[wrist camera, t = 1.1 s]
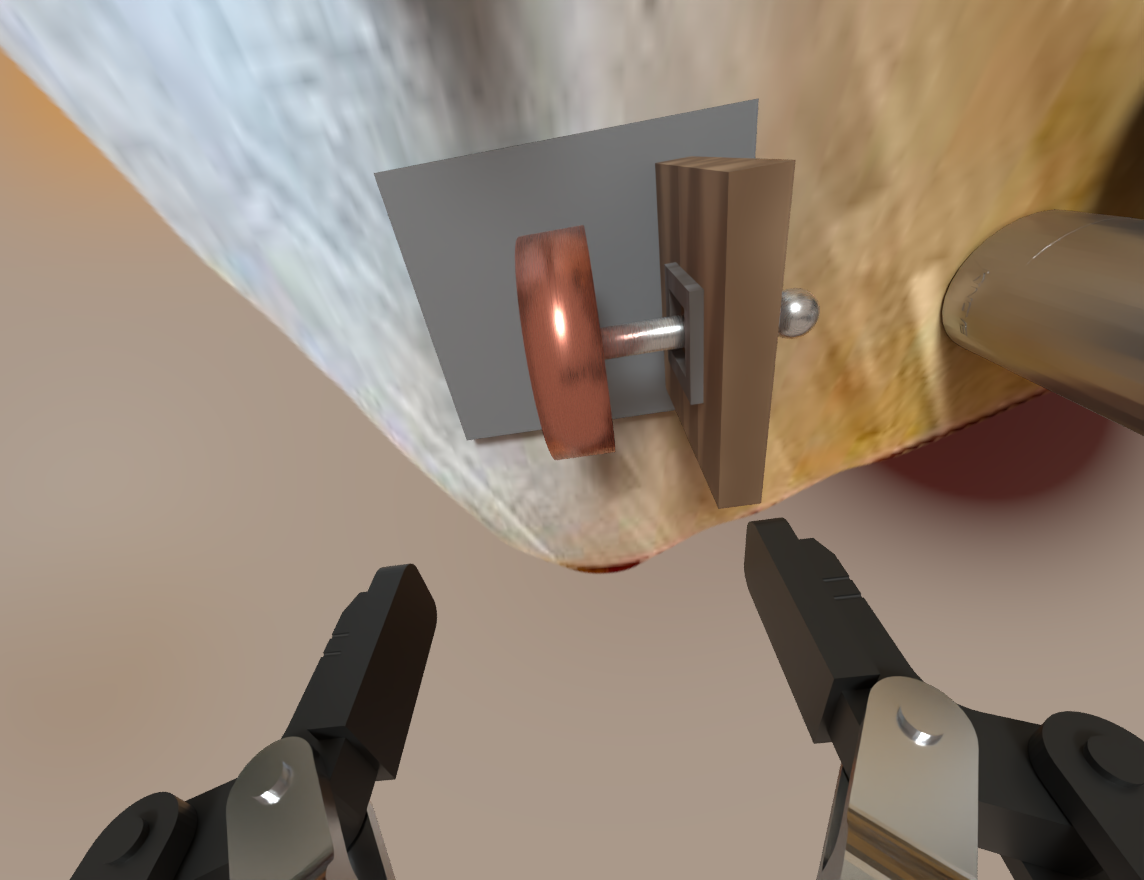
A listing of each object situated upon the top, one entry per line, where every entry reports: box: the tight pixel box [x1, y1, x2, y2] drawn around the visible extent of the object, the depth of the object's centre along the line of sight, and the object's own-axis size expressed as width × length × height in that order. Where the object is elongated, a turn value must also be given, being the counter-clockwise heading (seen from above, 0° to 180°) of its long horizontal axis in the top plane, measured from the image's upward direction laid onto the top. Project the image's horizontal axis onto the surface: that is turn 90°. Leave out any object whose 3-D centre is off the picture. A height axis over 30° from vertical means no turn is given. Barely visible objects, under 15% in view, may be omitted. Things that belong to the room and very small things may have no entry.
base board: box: [374, 99, 758, 440], centre depth 29 cm, size 21×18×2 cm
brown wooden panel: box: [655, 156, 795, 509], centre depth 23 cm, size 3×14×13 cm, turn 9°
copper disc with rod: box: [515, 225, 820, 460], centre depth 22 cm, size 14×11×11 cm
